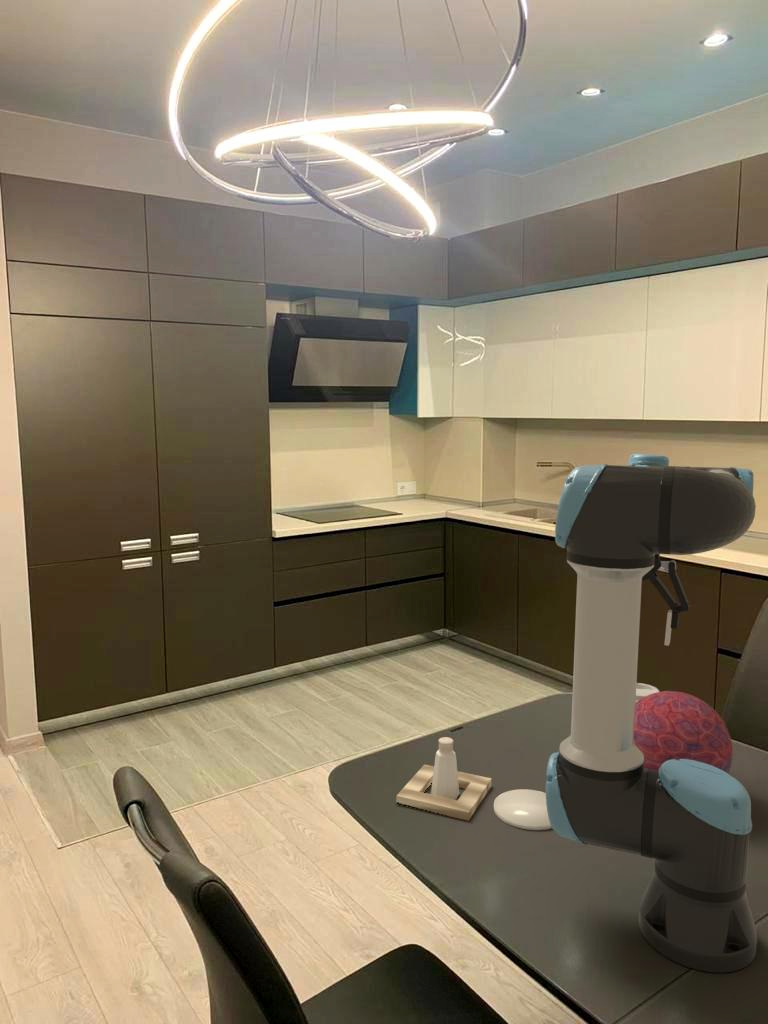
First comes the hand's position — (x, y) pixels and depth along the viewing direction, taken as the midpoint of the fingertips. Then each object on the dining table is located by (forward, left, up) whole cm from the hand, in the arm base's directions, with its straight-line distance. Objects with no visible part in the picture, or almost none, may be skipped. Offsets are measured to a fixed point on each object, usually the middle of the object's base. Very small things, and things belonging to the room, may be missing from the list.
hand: (631, 638), depth 152 cm
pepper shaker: (-26, +30, -28) cm, 48 cm away
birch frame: (-26, +30, -27) cm, 48 cm away
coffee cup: (+6, -1, -28) cm, 28 cm away
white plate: (-25, +14, -27) cm, 40 cm away
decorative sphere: (-8, -9, -28) cm, 30 cm away
